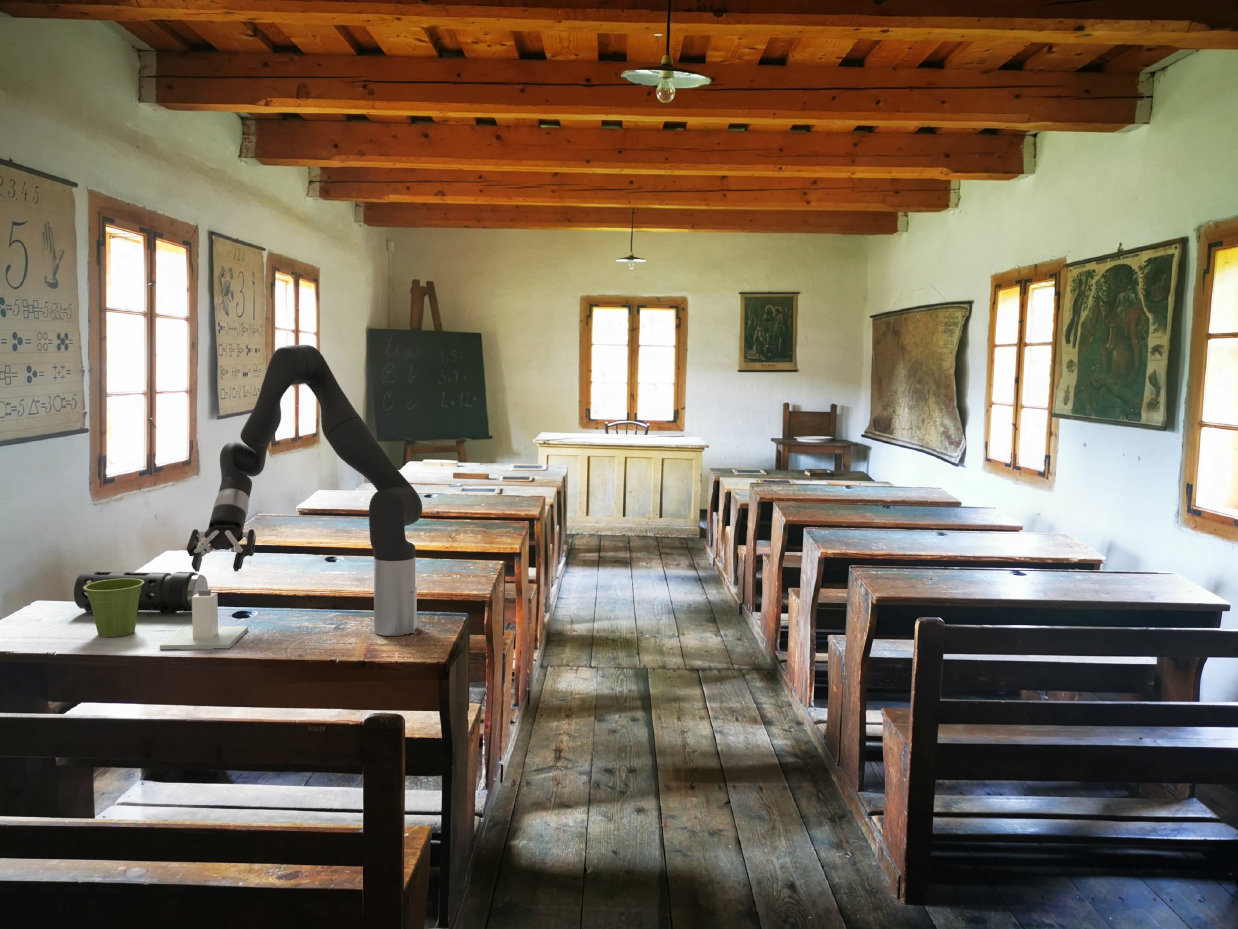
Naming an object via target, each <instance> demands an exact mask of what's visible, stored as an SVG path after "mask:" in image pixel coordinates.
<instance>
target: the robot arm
mask: <svg viewBox="0 0 1238 929" xmlns="http://www.w3.org/2000/svg"><path fill="white" fill-rule="evenodd" d="M268 362H269V363H268V364H267V368H266V372H265V375H264V379H263V380H262V384H261V387H260V391H259V394H258V397H257V400H256V402H255V405H254V407H253V410H252V411H251V413H250V415H249V416H248V418H247V420H246V422H245V424H244V425H243V427H242V429H241V431H240V440H241V441H242V443H240V442H236V441H230V442H227V443H226V444H225V445H224V446H223V447H222V448H221V451H220V454H219V467H220V474H221V475H220V476H221V478H220V479H221V480H220V486H219V490H218V493H217V496H216V498H215V501H214V504H213V508H212V513H211V516H210V520H209V523H208V524H209V525H208V528H207V529H206V530H205V531H199V530H198V529H196V528H195V529H193V530H192V532H191V534H190V538H189V540H188V543H187V545H186V551H187V553H188V556H189V557H192V561H191V568H192V569H193V570H194V572H195V573H198V572H200V569H201V565H202V561H203V557H204V556H205V555H207V554H210V553H211V552H212V551H213V550H215V551H221V550H224V551H229V550H230V549H233V551H234V552H235V556H234V560H233V565H232V568H233V571H234V572H239V570H241V569H242V568H243V563H244V560H245V558H246V557H248V556H249V557H253V556H254V555H255V548H256V542H257V541H256V539H257V536H256V532H255V529H253V528H251V529H249V530H248V531H244V528H245V523H246V520H247V515H248V513H249V512H248V511H249V505H250V504H249V503H250V496H251V492H252V488H253V482H252V479H251V478H250V477H252V478H253V477H256V476H258V475H260V474H261V473H262V472H263V470H264V469H265V464H266V460H267V459H266V458H267V452H268V448H269V446H270V443H271V441H272V440H273V439H274V436H275V435H276V433H277V431H278V428H279V427H280V424H281V421H282V409H281V400H282V398H283V397H284V395H285V393H286V392H287V391H288V389H289V388H290V387H291V386H296V385H306V386H307V387H308V388H309V389H310V390H311V392H312V394H313V395H314V396H315V398H316V399H317V401H318V404H319V408H320V423H321V424H320V425H321V430H322V434H323V436H324V437H325V439H326V441H327V442H328V443H329V445H330V447H331V448H332V449H333V451H334V452H335V454H336V455H337V456H338V457H339V458H340V459H341V460H342V461H343V462H344V463H345V464H347V465H348V466H349V467H350V468H352V469H353V470H355V471H356V472H357V473H359V474H361V475H362V476H363V477H364V478H366V479H367V480H368V481H369V482H370V483H371V484H372V485H373V487H375V489H376V492H375V493H374V494H372V496H371V498H370V501H369V505H368V525H369V542H370V545H371V547H372V548H371V549H372V550H373V606H374V607H373V614H374V616H373V626H374V628H373V629H374V633H375V634H376V635H380V636H388V637H393V636H394V637H396V636H398V637H399V636H404V634H406V635H410V634H409V633H414V634H415V632H416V630H415V629H417V627H416V626H417V625H418V624H417V623H418V622H417V621H418V620H417V619H418V617H417V615H418V614H417V612H418V611H417V608H418V607H417V603H418V601H417V594H418V593H417V587H416V546H415V544H414V543H412V542H410V541H408V540H407V538H406V531H405V527H406V526H410V525H412V524H415V523H416V522H418V521H419V520H420V519H421V517H422V514H423V504H422V500H421V497H420V495H419V493H418V492H417V490H416V489H415V488H414V487H413V486H412V485H411V482H409V481H408V480H407V479H406V477H405V476H404V475H403V474H402V473H401V472H400V471H399V470H398V468H397V467H396V466H395V465H394V463H393V462H392V461H391V459H390V458H389V457H388V455H387V453H386V452H385V451H384V449H383V448H382V446H381V445H380V443H379V442H378V441H377V440H376V438H375V436H374V435H373V433H372V431H371V429H369V427H368V425H367V424H366V423H365V422H364V420H363V418H362V417H361V416H360V414H359V413H358V412H357V411H356V409H355V408H354V406H353V405H352V403H351V401H350V400H349V399H348V397H347V395H346V394H345V392H344V391H343V389H342V388H341V386H340V384H339V383H338V381H337V379H336V377H335V375H334V374H333V372H332V370H331V369H330V366H329V365H328V364H329V363H327V360H326V359H325V358H324V355H323V354H322V353H321V352H320V350H318V348H316V347H315V346H313V345H310V344H293V345H291V344H290V345H284V346H280V347H277V349H275V351H274V352H273V353H272V355H271V358H270V359H269V361H268ZM243 443H244V444H243ZM204 538H205V539H204ZM203 539H204V540H203ZM243 539H245V541H246V548H242V546H241V545H240V542H241V541H242V540H243ZM199 542H201V543H200V544H199ZM198 545H199V546H198Z"/></svg>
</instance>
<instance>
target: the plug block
mask: <svg viewBox="0 0 1238 929" xmlns="http://www.w3.org/2000/svg"><path fill="white" fill-rule="evenodd" d="M218 602H219V601H218V592H212V589H208V590H198V593H197V594H196V595H194V596H193V597H192V611H191V614H192V615H191V616H192V618H191V619H192V620H191V621H192V623H191V624H192V627H193V638H212V637H214V636H215V635H216V634H217V633H218V627H219V614H218V613H219V609H218V607H219V606H218Z"/></svg>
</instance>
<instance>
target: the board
mask: <svg viewBox="0 0 1238 929" xmlns="http://www.w3.org/2000/svg"><path fill="white" fill-rule="evenodd" d="M246 631H247V632H248V631H249V626H246V625H245V626H242V625H241V626H239V625H238V626H235V625H234V626H233V625H232V626H230V625H229V626H218V633H217V634H216V635H215V636H214V637H212V638H193V626H182V627H181V628H180V629H179V630H177V631H176V632H175V633H174V634H172V635H171V636H170V637H169V638H166V640H165V641H163V642H162V643H160V645H159V650H160V649H182V650H214V649H213V648H229V647H230V646H231V645H233V644H234V643H235V642H236V641H237V640H238V639H239V638H240V637H241V636H242V635H243V634H244V635H245V634H247V632H246ZM244 635H243V636H244ZM243 636H242V637H243ZM242 637H241V638H242ZM241 638H240V639H241ZM240 639H239V640H240ZM239 640H238V641H239ZM238 641H237V642H238ZM237 642H236V643H237ZM236 643H235V644H236ZM235 644H234V645H235ZM234 645H233V646H234Z"/></svg>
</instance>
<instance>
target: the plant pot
mask: <svg viewBox="0 0 1238 929" xmlns="http://www.w3.org/2000/svg"><path fill="white" fill-rule="evenodd" d="M89 583H90V582H89ZM89 583H87V585H85V586H84V587H83V589H84V590H86V592H87V593H86V592H85V593H86V595H87V596H88V599H89V600H90V603H91V607H92V611H93V612H92V614H93V619H94V623H95V624H94V625H95V628H96V632H97V636H99V637H102V638H108V637H115V638H119V637H118V636H121V637H124V636H129V635H131V634H132V633H134V632H135V631H136V624H137V617H138V616H137V615H138V612H137V610H138V602H139V595H140V594H141V587H142V585H143V584H144V581H143V580H141V579H133V578H123V579H110V580H103V581H98V582H94V583H90V584H89ZM128 634H129V635H128ZM123 635H124V636H123Z"/></svg>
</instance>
